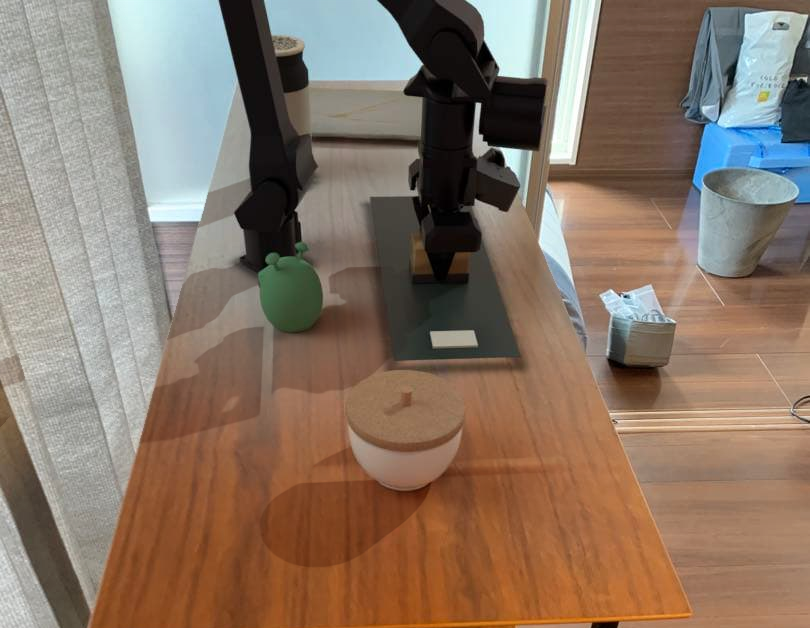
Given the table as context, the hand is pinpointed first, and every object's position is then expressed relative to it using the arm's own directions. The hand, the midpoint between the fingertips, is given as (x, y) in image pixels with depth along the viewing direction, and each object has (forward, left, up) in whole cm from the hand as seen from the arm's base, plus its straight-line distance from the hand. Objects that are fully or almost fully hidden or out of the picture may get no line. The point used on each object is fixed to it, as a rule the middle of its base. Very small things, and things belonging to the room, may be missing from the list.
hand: (438, 271), depth 102 cm
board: (+1, +2, -2) cm, 3 cm away
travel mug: (+5, +36, -2) cm, 36 cm away
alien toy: (-20, +5, -2) cm, 20 cm away
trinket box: (-28, -21, -2) cm, 35 cm away
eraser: (0, 0, 0) cm, 0 cm away
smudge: (-9, -11, 0) cm, 14 cm away
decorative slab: (+29, +46, -2) cm, 54 cm away
